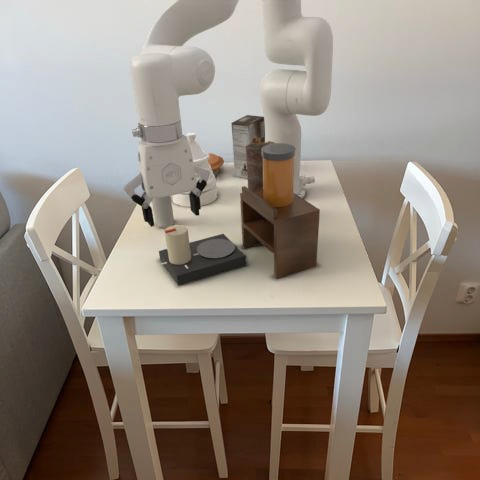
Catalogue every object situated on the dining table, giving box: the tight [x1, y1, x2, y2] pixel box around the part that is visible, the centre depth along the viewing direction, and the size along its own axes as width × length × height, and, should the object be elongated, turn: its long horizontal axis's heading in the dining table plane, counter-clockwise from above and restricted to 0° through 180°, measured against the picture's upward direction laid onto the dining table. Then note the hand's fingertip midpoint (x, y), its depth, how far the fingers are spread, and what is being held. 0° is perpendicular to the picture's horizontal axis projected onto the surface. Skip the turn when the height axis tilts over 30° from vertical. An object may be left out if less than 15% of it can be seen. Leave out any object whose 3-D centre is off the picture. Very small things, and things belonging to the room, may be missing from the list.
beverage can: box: [151, 196, 175, 229], centre depth 117 cm, size 5×5×12 cm
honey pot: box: [171, 131, 218, 208], centre depth 128 cm, size 13×13×18 cm
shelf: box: [239, 185, 321, 280], centre depth 101 cm, size 10×16×15 cm, turn 26°
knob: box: [164, 224, 191, 265], centre depth 99 cm, size 5×5×7 cm
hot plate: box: [158, 233, 247, 287], centre depth 103 cm, size 18×12×3 cm
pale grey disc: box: [197, 239, 236, 259], centre depth 104 cm, size 9×9×1 cm
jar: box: [261, 143, 295, 207], centre depth 94 cm, size 7×7×11 cm
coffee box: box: [231, 114, 265, 179], centre depth 141 cm, size 9×6×16 cm
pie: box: [208, 152, 225, 177], centre depth 146 cm, size 15×16×5 cm
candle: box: [246, 141, 275, 190], centre depth 112 cm, size 8×7×20 cm
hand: (173, 218), depth 95 cm, fingers open, 9 cm apart
